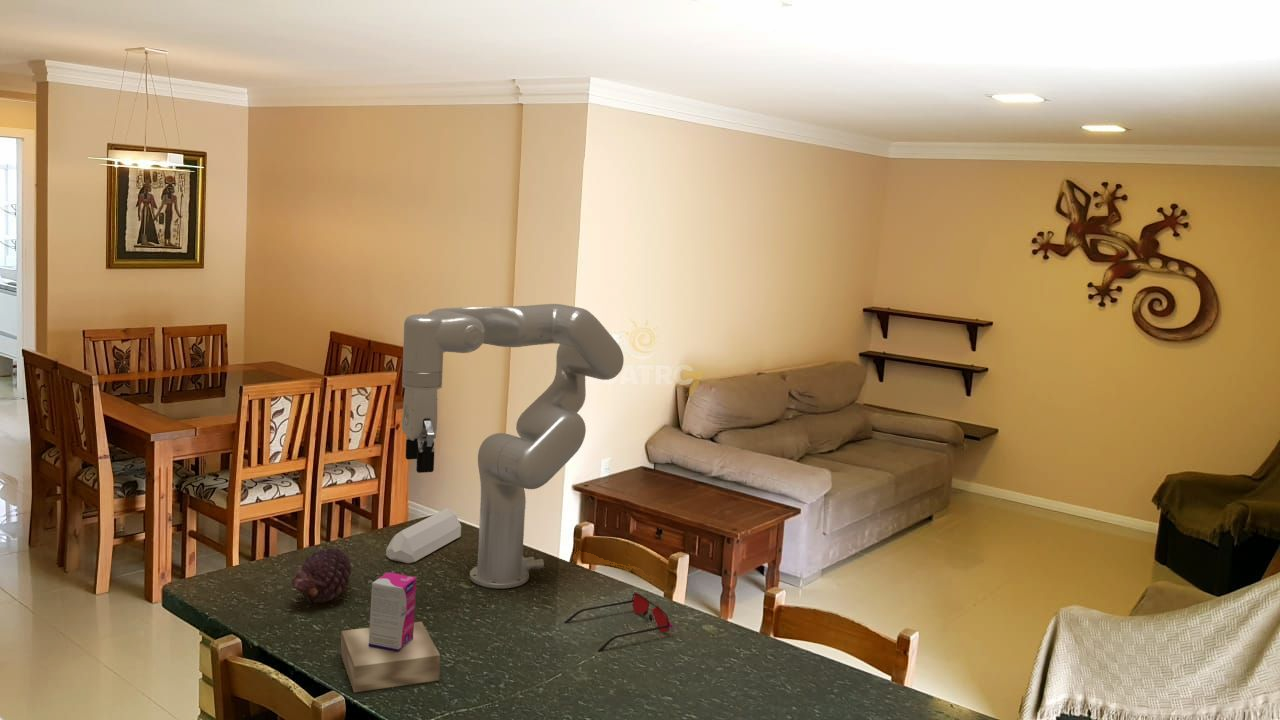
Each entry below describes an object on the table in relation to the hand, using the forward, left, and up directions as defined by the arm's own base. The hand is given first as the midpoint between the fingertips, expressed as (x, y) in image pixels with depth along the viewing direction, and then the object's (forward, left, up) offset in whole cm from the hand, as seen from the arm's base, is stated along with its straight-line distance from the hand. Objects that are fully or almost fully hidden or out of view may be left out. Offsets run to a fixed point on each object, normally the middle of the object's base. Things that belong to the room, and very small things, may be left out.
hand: (419, 465), depth 194 cm
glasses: (-34, +23, -29) cm, 50 cm away
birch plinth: (+10, +26, -28) cm, 40 cm away
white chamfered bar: (-9, -30, -29) cm, 43 cm away
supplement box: (+10, +26, -24) cm, 37 cm away
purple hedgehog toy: (+16, -7, -28) cm, 33 cm away
